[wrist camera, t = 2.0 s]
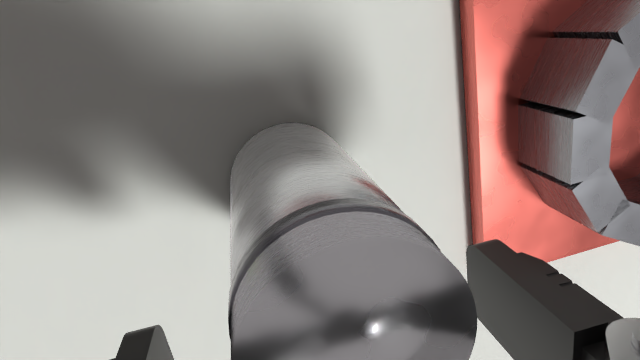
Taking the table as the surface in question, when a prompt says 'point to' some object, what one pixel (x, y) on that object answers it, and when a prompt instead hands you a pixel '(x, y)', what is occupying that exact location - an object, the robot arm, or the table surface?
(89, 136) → the table surface
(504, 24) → the collar
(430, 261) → the cylinder
